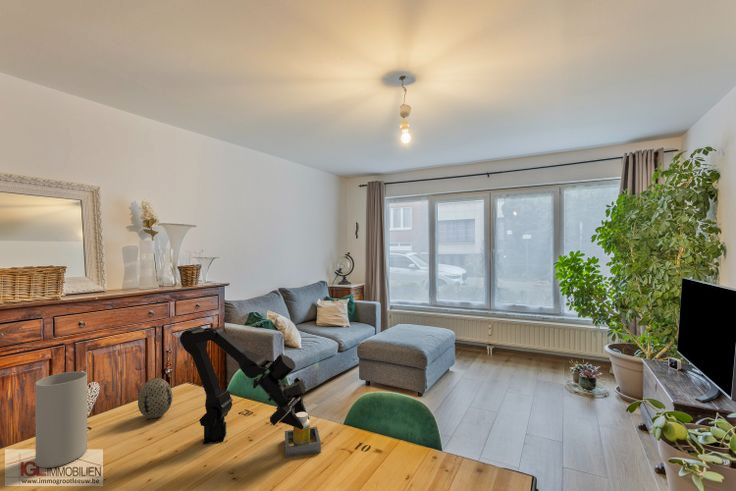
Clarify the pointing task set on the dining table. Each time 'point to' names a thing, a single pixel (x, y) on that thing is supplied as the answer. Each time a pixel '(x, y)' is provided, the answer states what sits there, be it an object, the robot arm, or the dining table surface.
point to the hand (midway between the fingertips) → (305, 424)
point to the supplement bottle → (302, 430)
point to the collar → (302, 448)
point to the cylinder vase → (61, 418)
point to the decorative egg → (155, 398)
